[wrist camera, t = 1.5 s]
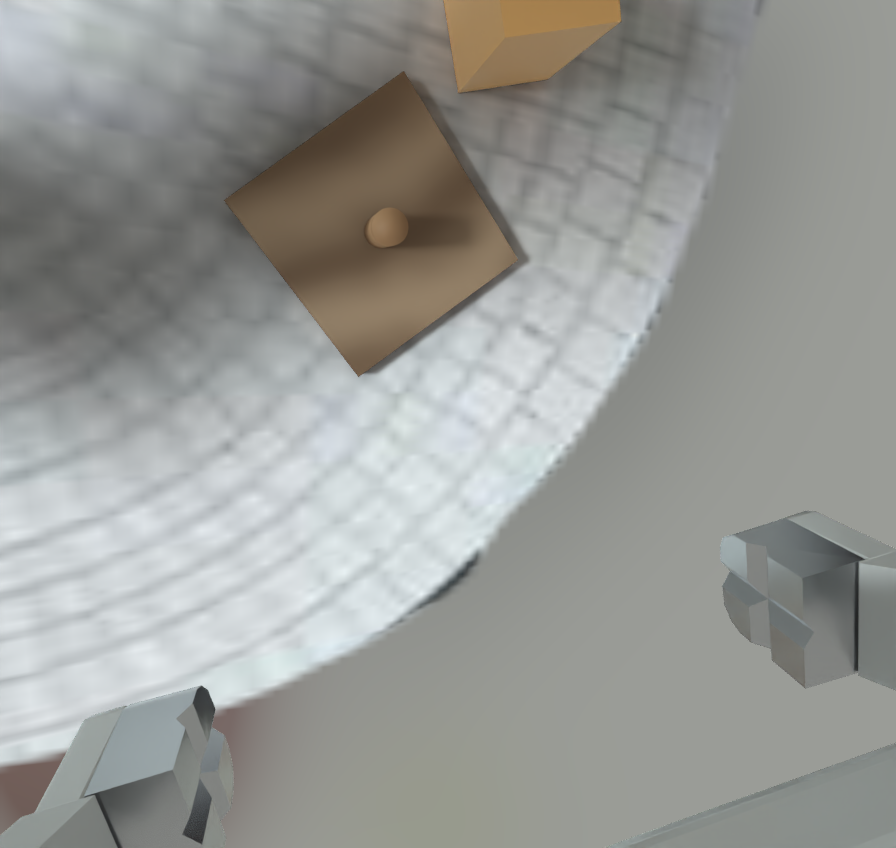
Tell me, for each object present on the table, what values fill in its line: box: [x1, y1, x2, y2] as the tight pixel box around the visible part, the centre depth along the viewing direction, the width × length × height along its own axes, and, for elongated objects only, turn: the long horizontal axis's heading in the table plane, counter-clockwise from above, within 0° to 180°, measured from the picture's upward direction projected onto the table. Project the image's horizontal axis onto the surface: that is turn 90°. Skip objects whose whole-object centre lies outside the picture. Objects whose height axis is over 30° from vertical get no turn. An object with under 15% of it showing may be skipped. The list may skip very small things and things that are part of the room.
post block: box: [224, 71, 518, 377], centre depth 33 cm, size 12×12×6 cm
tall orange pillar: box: [443, 0, 621, 93], centre depth 30 cm, size 6×6×9 cm
